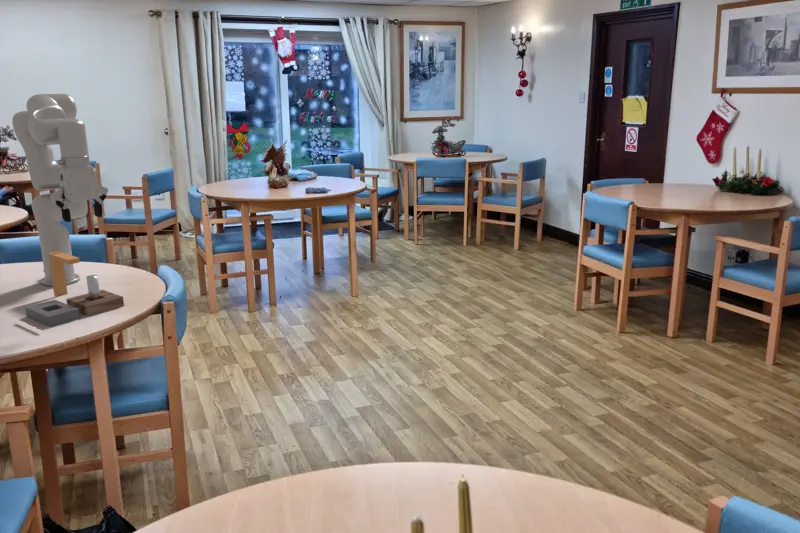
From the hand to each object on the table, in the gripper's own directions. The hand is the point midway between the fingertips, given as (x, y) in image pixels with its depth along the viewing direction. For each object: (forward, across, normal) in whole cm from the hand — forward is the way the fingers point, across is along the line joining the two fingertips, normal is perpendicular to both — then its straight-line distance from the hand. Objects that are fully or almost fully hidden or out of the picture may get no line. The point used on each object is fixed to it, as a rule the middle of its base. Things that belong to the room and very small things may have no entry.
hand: (83, 219), depth 207 cm
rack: (+29, -13, +1) cm, 32 cm away
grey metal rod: (+28, 0, 0) cm, 28 cm away
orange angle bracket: (+28, 0, +17) cm, 33 cm away
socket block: (+29, 0, 0) cm, 29 cm away
